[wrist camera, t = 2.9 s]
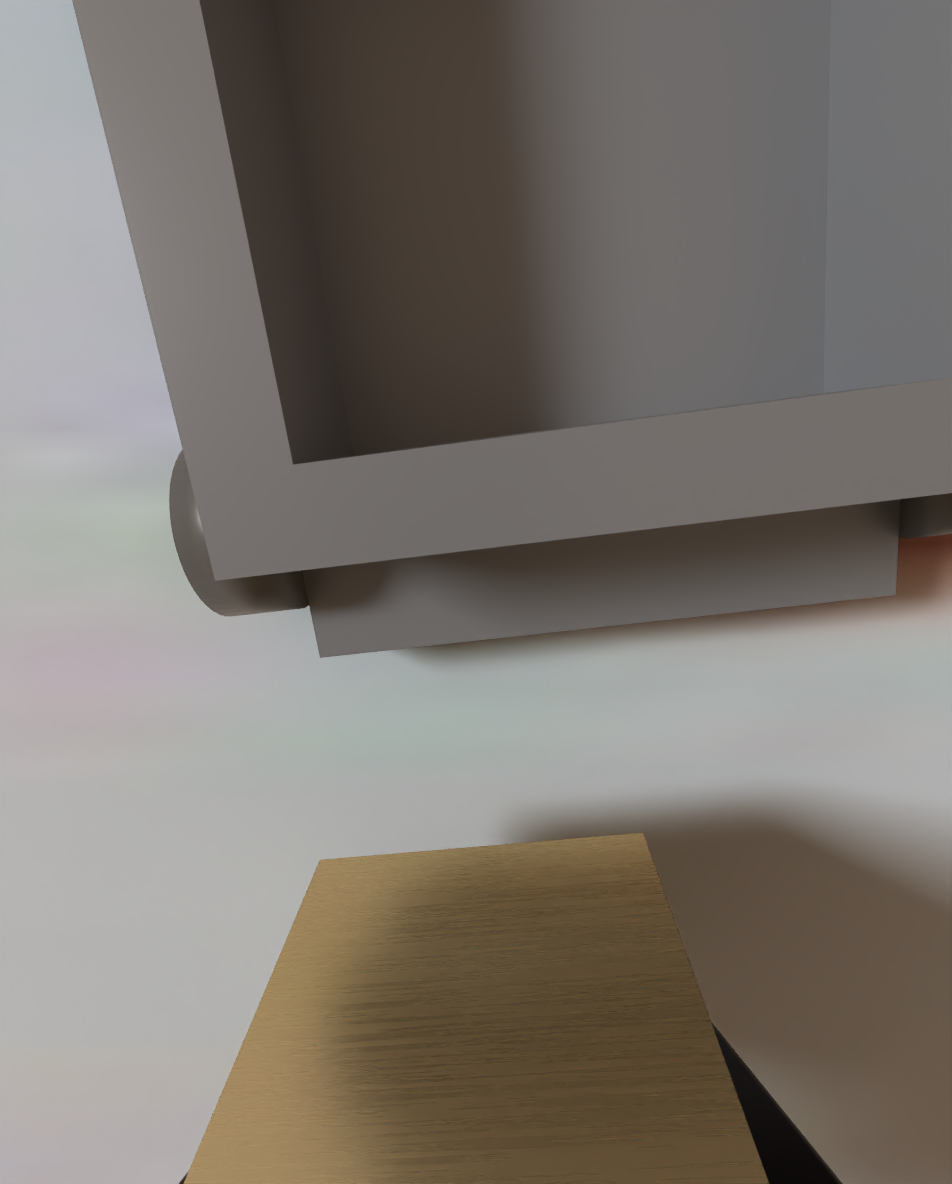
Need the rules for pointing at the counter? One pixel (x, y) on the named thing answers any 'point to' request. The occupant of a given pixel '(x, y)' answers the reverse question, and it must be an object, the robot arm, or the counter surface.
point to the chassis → (540, 301)
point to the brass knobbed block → (482, 1031)
